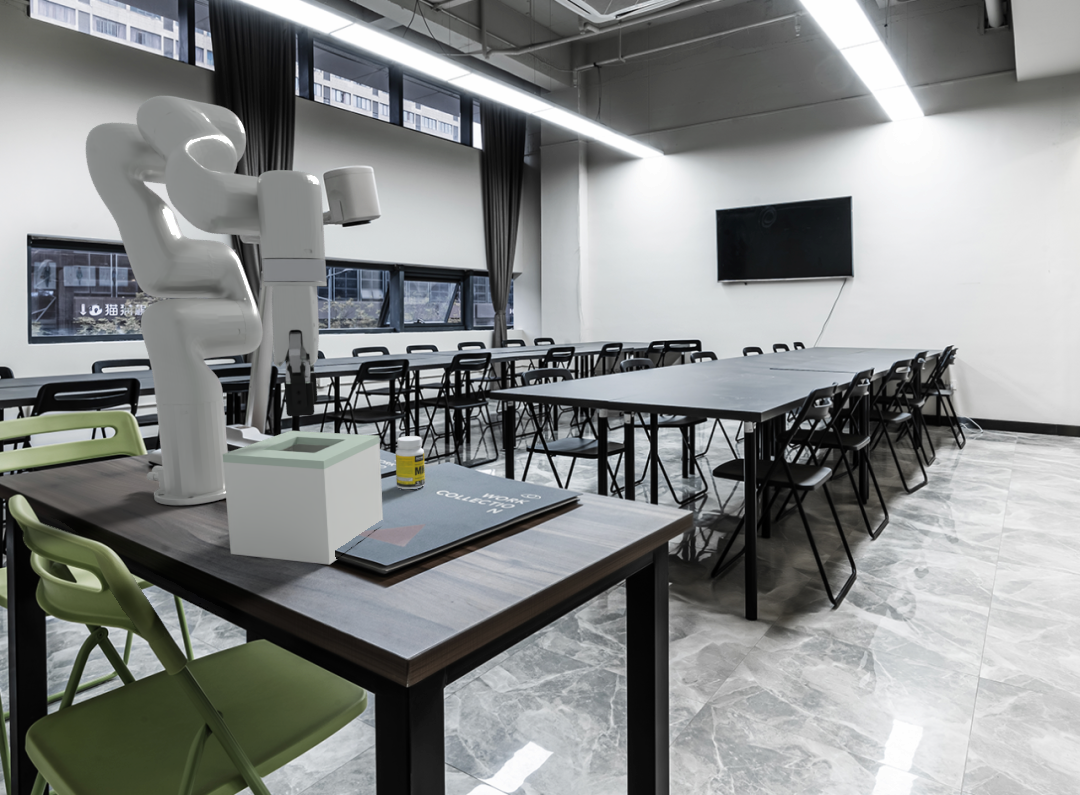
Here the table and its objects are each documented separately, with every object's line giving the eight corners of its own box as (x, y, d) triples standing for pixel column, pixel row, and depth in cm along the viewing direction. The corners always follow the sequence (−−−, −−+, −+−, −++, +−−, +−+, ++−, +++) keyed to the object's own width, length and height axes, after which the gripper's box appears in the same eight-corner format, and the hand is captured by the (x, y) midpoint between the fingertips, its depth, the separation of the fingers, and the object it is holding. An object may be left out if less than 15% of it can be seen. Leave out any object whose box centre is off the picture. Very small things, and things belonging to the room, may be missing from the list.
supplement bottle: (418, 491, 110) (417, 442, 109) (392, 490, 111) (390, 440, 110) (429, 483, 115) (427, 435, 113) (403, 482, 116) (401, 434, 114)
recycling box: (230, 553, 85) (222, 454, 82) (296, 517, 98) (290, 430, 96) (329, 564, 81) (323, 461, 79) (383, 525, 95) (379, 435, 93)
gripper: (270, 275, 91) (278, 399, 94) (253, 273, 75) (264, 423, 77) (327, 275, 93) (334, 396, 96) (324, 273, 77) (332, 419, 80)
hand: (303, 408), depth 87 cm, fingers open, 9 cm apart
